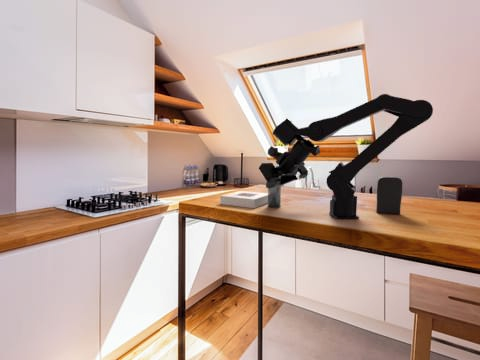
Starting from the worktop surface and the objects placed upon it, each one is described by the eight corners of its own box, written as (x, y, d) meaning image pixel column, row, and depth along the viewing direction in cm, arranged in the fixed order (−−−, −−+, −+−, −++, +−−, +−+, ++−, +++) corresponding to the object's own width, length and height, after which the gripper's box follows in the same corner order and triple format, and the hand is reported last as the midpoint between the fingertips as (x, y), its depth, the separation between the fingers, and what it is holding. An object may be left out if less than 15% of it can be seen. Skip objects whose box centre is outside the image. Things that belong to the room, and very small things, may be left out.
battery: (399, 212, 86) (401, 176, 85) (401, 215, 83) (403, 177, 81) (374, 210, 89) (376, 175, 87) (375, 213, 85) (377, 176, 84)
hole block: (271, 201, 104) (271, 193, 104) (254, 208, 92) (254, 199, 92) (240, 198, 111) (240, 190, 111) (220, 203, 99) (220, 195, 99)
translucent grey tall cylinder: (279, 205, 97) (279, 174, 96) (281, 207, 93) (282, 175, 92) (266, 205, 97) (267, 174, 96) (268, 207, 93) (269, 175, 92)
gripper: (302, 138, 95) (278, 168, 105) (263, 136, 84) (240, 170, 93) (320, 161, 90) (293, 191, 100) (281, 163, 78) (255, 196, 88)
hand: (271, 186), depth 95 cm, fingers closed on translucent grey tall cylinder, 4 cm apart
